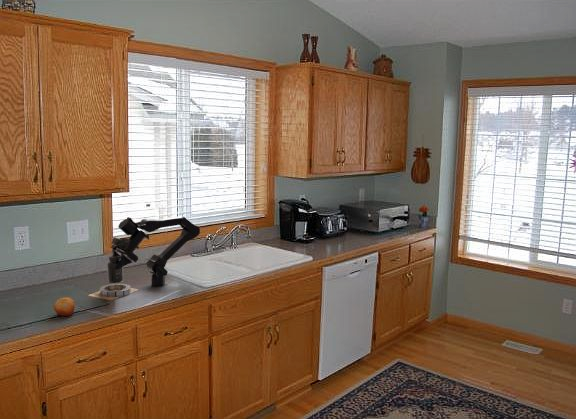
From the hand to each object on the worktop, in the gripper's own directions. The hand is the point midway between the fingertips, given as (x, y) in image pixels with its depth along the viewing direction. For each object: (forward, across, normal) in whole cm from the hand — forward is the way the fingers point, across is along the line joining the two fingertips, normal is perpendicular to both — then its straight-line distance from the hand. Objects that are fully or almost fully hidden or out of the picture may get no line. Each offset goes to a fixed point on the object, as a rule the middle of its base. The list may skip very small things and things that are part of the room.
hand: (112, 267), depth 236 cm
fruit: (+28, +13, -9) cm, 32 cm away
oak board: (+9, -1, +10) cm, 13 cm away
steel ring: (+8, 0, +10) cm, 12 cm away
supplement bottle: (+4, 0, +6) cm, 7 cm away
